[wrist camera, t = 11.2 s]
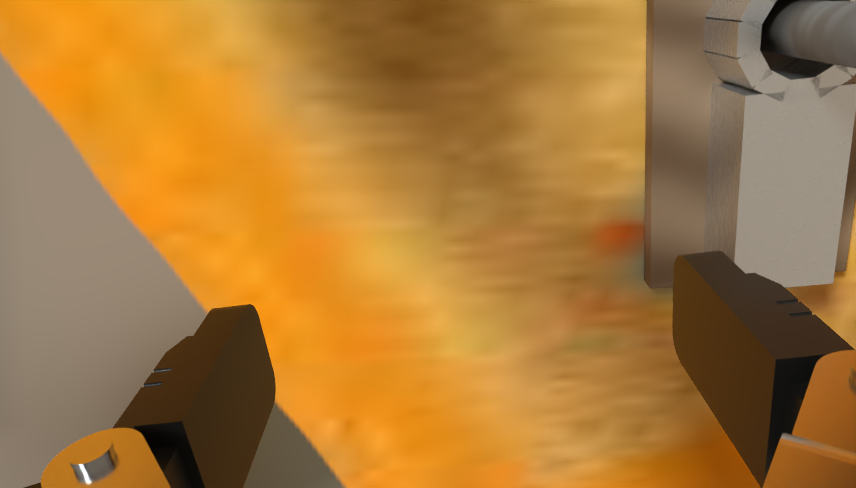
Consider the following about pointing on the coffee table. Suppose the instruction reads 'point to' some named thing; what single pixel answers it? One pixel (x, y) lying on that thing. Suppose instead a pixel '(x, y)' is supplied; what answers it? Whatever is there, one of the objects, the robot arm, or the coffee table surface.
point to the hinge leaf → (774, 151)
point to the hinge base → (690, 114)
